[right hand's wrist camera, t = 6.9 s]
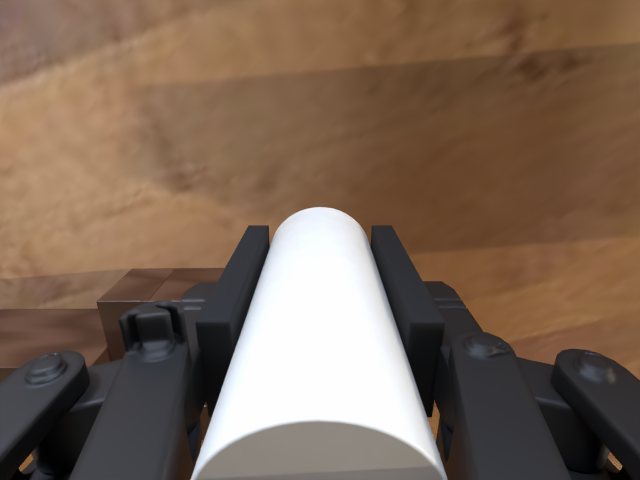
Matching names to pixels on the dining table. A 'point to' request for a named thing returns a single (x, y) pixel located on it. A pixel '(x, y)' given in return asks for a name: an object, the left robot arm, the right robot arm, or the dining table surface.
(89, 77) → the dining table surface
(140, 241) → the dining table surface
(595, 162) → the dining table surface
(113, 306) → the peg stand
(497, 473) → the right robot arm
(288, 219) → the peg
